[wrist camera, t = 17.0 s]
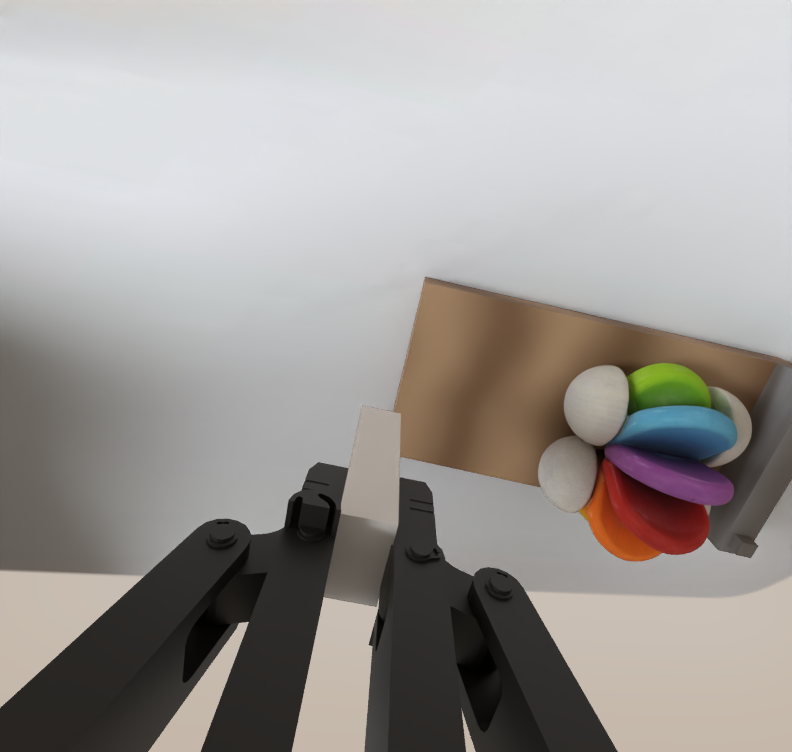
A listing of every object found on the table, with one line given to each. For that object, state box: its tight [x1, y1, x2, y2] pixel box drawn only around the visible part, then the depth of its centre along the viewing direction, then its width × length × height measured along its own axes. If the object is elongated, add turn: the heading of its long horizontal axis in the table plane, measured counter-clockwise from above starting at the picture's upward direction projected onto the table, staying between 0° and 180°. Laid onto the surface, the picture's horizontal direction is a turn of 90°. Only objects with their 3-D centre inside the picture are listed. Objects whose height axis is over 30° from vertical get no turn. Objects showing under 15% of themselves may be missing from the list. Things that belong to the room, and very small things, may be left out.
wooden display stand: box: [393, 277, 792, 558], centre depth 25 cm, size 20×10×5 cm, turn 78°
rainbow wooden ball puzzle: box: [538, 363, 752, 561], centre depth 22 cm, size 8×10×7 cm
